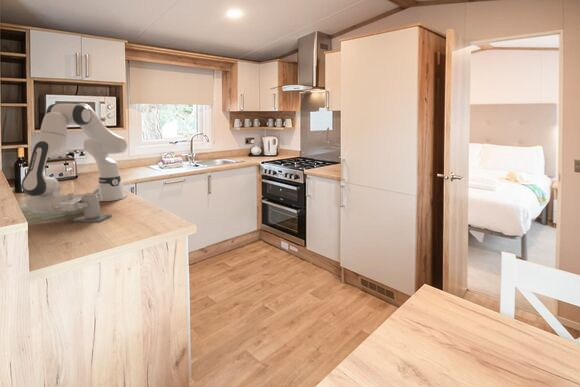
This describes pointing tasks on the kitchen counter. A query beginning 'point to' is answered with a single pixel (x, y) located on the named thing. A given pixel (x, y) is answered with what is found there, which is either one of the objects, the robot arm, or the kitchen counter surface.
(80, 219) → the slate tile
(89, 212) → the can
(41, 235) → the kitchen counter surface
